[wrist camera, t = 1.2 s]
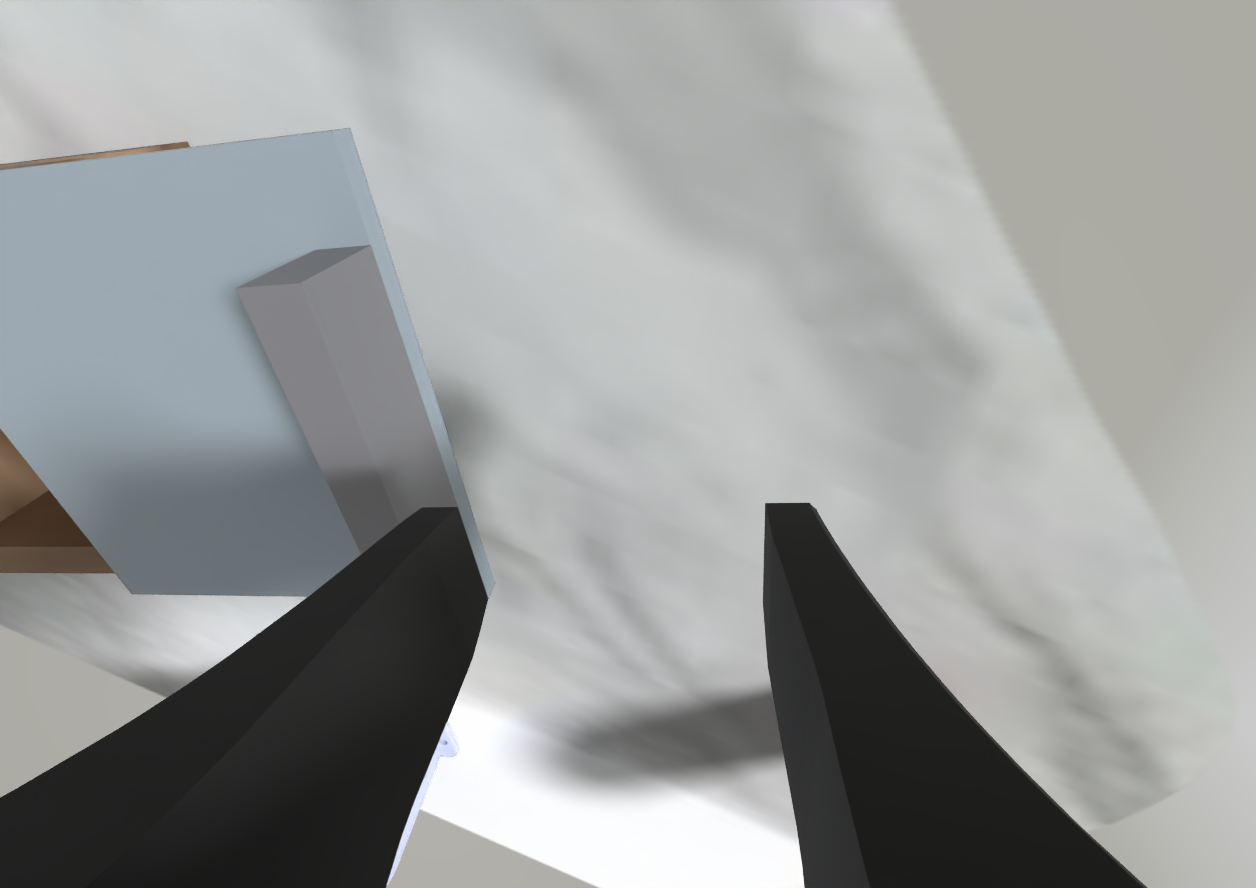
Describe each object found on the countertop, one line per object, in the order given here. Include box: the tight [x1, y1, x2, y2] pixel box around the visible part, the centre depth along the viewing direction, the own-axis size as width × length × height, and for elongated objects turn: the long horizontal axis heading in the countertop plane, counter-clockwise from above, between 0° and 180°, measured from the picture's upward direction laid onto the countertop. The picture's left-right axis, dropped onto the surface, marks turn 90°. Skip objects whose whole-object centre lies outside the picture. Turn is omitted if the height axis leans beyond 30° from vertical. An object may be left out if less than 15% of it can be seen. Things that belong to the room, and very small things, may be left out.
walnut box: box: [0, 142, 189, 573], centre depth 19 cm, size 12×12×5 cm
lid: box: [0, 128, 495, 599], centre depth 14 cm, size 12×12×3 cm
